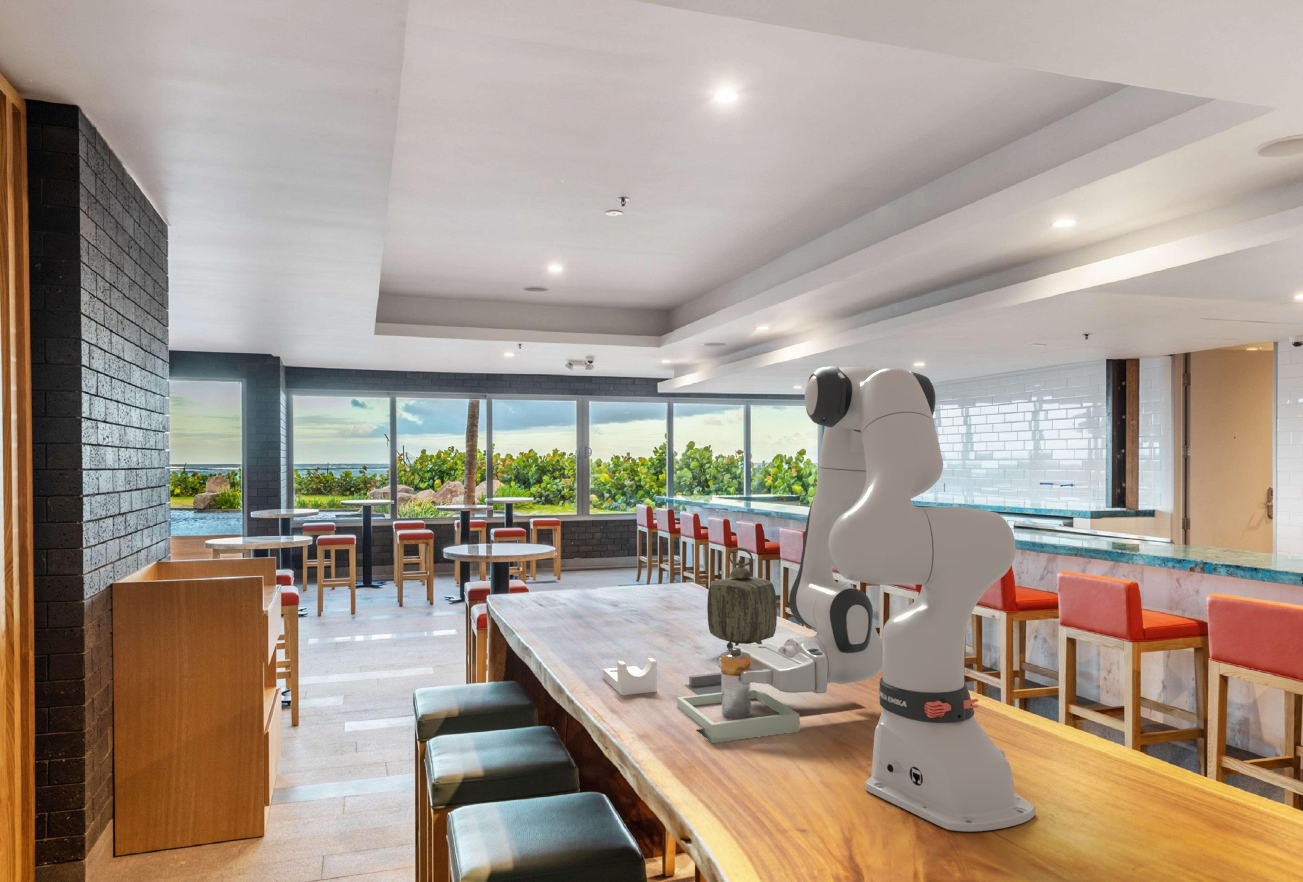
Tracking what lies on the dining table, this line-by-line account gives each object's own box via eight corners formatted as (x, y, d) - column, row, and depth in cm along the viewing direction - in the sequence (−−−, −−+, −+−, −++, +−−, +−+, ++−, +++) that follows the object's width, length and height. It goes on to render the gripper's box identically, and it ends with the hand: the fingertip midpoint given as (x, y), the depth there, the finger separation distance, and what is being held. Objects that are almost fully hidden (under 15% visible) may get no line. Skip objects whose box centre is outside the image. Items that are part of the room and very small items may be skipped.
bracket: (656, 700, 156) (656, 661, 157) (621, 704, 154) (621, 664, 154) (635, 683, 169) (635, 646, 169) (602, 686, 166) (602, 649, 166)
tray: (799, 731, 137) (799, 713, 137) (712, 743, 132) (711, 724, 132) (757, 704, 152) (757, 688, 152) (677, 714, 147) (677, 697, 147)
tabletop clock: (777, 656, 188) (776, 548, 188) (754, 664, 181) (752, 552, 182) (728, 647, 198) (726, 544, 198) (704, 654, 191) (703, 547, 192)
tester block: (752, 701, 154) (752, 684, 154) (703, 707, 151) (703, 689, 151) (730, 687, 164) (730, 671, 164) (684, 692, 160) (684, 676, 160)
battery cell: (755, 720, 140) (755, 651, 141) (728, 724, 139) (728, 653, 139) (743, 712, 145) (742, 644, 145) (717, 715, 144) (716, 647, 144)
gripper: (774, 633, 156) (707, 639, 152) (830, 658, 137) (756, 665, 132) (774, 666, 156) (708, 673, 152) (831, 695, 137) (756, 704, 132)
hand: (730, 670), depth 142 cm, fingers open, 8 cm apart
